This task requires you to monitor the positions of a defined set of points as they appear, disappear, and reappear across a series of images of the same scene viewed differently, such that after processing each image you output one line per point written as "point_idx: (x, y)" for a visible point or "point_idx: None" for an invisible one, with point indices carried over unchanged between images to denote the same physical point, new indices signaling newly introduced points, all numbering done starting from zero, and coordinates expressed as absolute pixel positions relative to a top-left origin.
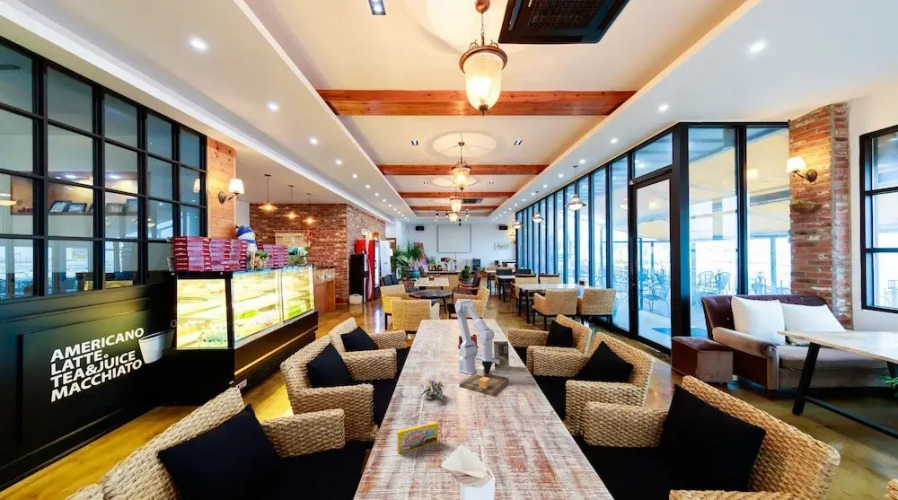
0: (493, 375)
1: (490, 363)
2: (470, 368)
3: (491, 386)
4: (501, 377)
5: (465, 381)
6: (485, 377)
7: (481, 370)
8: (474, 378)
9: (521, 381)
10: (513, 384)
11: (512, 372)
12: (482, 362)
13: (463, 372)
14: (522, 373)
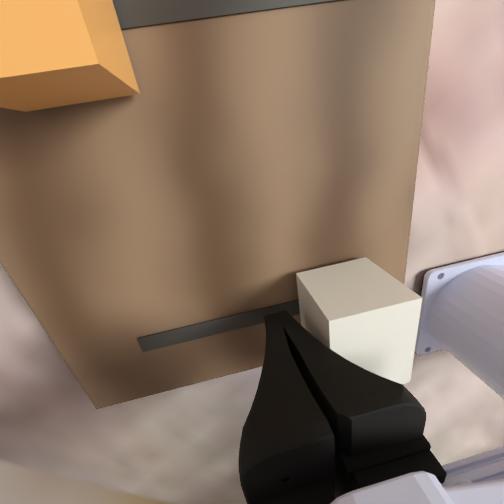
0: (240, 355)
1: (243, 491)
2: (481, 304)
3: (18, 124)
4: (155, 375)
5: (400, 3)
6: (20, 50)
7: (345, 303)
8: (349, 176)
9: (50, 438)
10: (38, 372)
11: (210, 470)
12: (413, 419)
13: (498, 253)
14: (154, 497)
